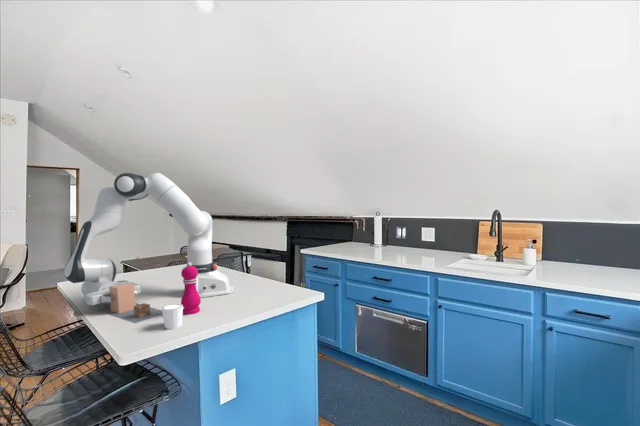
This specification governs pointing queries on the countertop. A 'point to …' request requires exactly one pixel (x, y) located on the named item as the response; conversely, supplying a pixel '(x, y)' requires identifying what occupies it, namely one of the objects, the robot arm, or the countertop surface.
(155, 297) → the countertop surface
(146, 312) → the block
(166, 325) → the white cup
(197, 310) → the pepper mill
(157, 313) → the mat
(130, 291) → the tan rectangular block
